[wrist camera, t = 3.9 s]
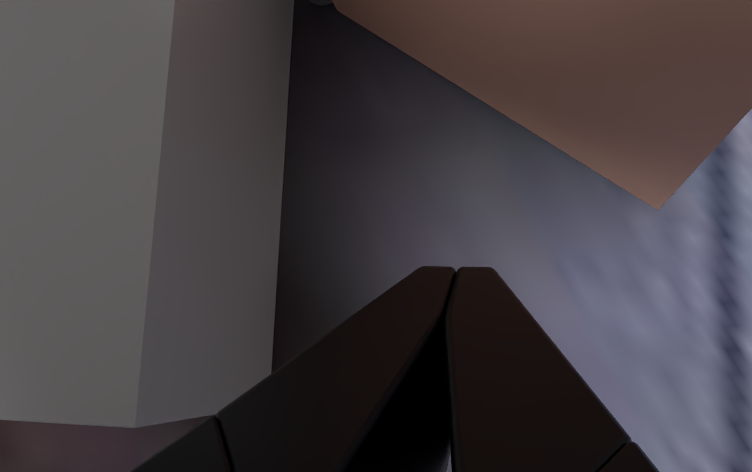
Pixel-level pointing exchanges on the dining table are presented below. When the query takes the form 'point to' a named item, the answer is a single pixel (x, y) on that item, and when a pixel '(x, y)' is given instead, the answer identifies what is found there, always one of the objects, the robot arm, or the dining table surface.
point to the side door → (590, 73)
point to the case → (139, 205)
